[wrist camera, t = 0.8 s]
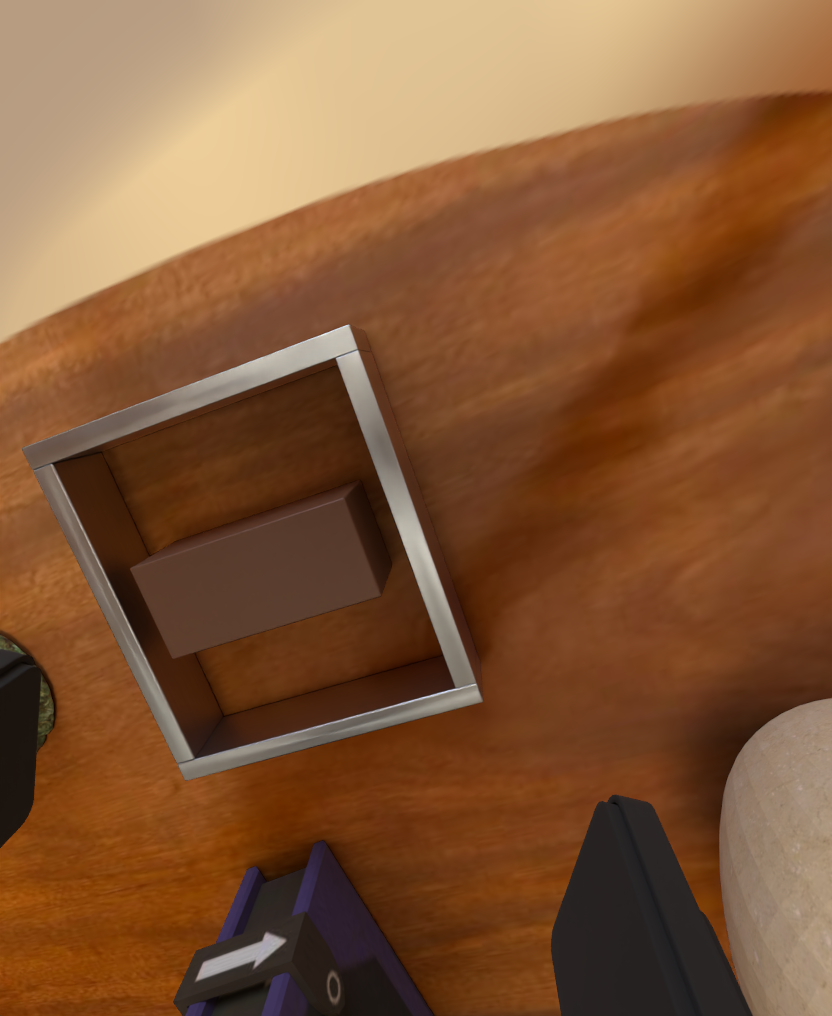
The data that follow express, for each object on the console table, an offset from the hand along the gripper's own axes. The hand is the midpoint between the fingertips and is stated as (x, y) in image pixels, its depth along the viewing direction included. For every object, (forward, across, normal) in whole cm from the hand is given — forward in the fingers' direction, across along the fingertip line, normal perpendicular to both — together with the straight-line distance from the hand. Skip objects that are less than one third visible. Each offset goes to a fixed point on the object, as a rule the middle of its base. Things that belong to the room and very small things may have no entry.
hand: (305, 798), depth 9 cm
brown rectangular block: (+18, +6, +3) cm, 20 cm away
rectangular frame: (+18, +6, +3) cm, 20 cm away
